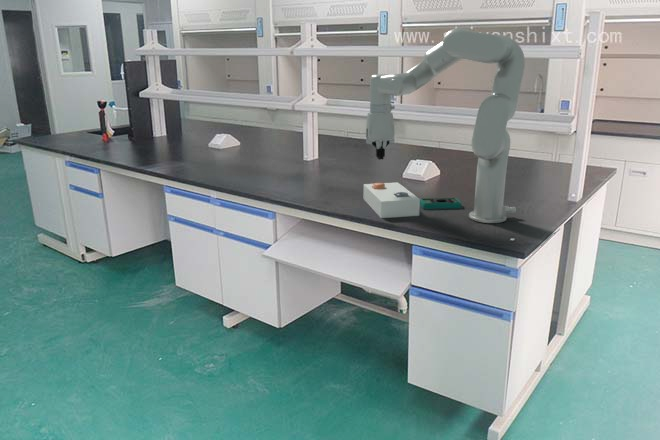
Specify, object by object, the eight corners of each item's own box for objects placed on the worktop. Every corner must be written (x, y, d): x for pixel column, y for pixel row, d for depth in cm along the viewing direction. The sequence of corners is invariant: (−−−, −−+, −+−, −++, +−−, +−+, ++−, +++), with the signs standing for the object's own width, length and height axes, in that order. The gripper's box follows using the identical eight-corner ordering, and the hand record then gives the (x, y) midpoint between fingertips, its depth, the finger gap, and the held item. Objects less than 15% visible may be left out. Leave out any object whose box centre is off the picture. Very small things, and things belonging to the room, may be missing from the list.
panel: (397, 196, 211) (397, 182, 210) (419, 215, 187) (419, 199, 185) (363, 199, 209) (363, 184, 207) (380, 218, 185) (381, 201, 183)
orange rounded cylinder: (382, 196, 206) (383, 182, 204) (385, 199, 202) (386, 185, 200) (371, 196, 205) (372, 183, 203) (374, 199, 201) (374, 185, 199)
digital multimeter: (462, 209, 195) (463, 201, 194) (422, 210, 194) (423, 202, 194) (457, 204, 202) (457, 196, 201) (418, 205, 201) (419, 197, 201)
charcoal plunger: (405, 206, 195) (405, 191, 193) (409, 209, 190) (409, 194, 189) (393, 207, 194) (394, 192, 192) (397, 210, 190) (397, 195, 188)
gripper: (397, 107, 198) (396, 156, 203) (358, 109, 195) (358, 158, 201) (403, 109, 191) (402, 159, 196) (362, 111, 188) (363, 161, 194)
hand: (380, 158), depth 198 cm, fingers closed
